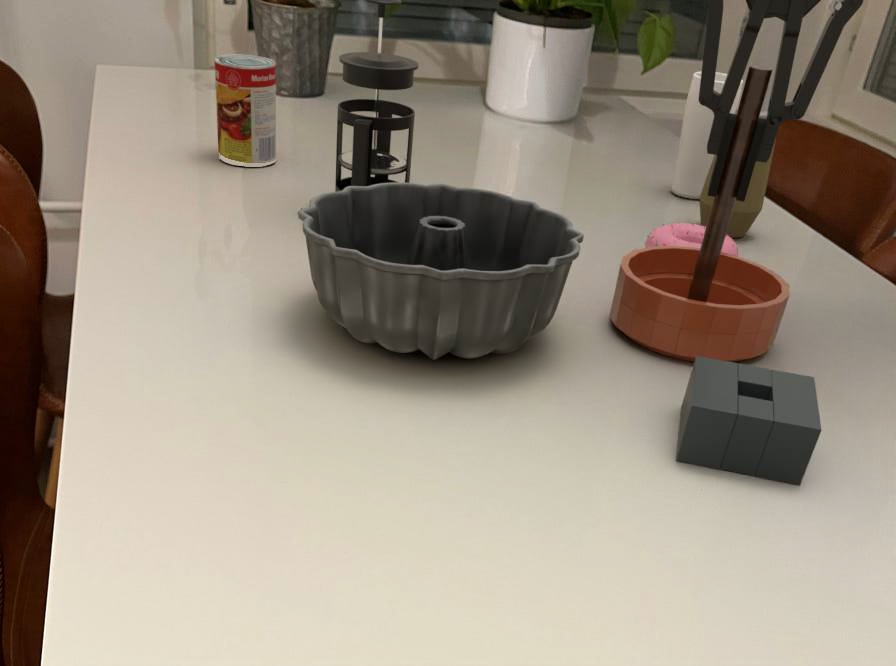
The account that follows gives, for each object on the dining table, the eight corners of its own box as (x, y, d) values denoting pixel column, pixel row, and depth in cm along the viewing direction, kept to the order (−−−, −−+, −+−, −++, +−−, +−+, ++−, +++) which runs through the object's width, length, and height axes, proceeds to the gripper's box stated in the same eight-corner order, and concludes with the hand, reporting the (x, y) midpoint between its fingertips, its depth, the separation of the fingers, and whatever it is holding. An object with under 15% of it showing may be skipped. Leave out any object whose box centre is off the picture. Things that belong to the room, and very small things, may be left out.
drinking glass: (662, 196, 139) (690, 76, 129) (668, 184, 144) (695, 68, 134) (710, 205, 138) (742, 85, 128) (714, 193, 143) (745, 76, 133)
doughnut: (745, 269, 118) (756, 233, 116) (714, 293, 111) (724, 256, 108) (661, 245, 122) (670, 210, 120) (626, 267, 115) (634, 230, 112)
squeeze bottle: (686, 218, 132) (725, 66, 120) (746, 224, 132) (790, 73, 121) (697, 238, 126) (739, 80, 114) (759, 245, 126) (807, 87, 114)
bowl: (768, 318, 107) (786, 262, 103) (772, 381, 94) (793, 320, 90) (616, 291, 109) (628, 235, 105) (600, 349, 96) (613, 288, 93)
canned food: (239, 148, 140) (236, 51, 132) (287, 159, 137) (287, 61, 130) (206, 159, 134) (202, 59, 126) (255, 171, 132) (254, 69, 124)
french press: (346, 197, 126) (354, -16, 111) (417, 209, 125) (435, -5, 110) (318, 224, 117) (323, -3, 103) (394, 237, 116) (410, 9, 101)
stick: (703, 311, 101) (772, 67, 87) (702, 318, 99) (773, 71, 85) (683, 307, 101) (749, 64, 87) (683, 314, 100) (749, 67, 85)
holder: (794, 429, 87) (814, 376, 83) (800, 485, 79) (821, 429, 76) (680, 408, 88) (696, 355, 85) (675, 460, 80) (691, 405, 77)
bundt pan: (267, 282, 102) (266, 180, 96) (496, 270, 111) (509, 175, 104) (346, 397, 84) (351, 280, 78) (612, 371, 92) (637, 265, 86)
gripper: (715, -130, 76) (643, 192, 91) (917, -106, 74) (809, 219, 89) (717, -131, 81) (649, 172, 97) (904, -109, 79) (804, 197, 95)
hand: (726, 194), depth 93 cm, fingers closed on stick, 2 cm apart
